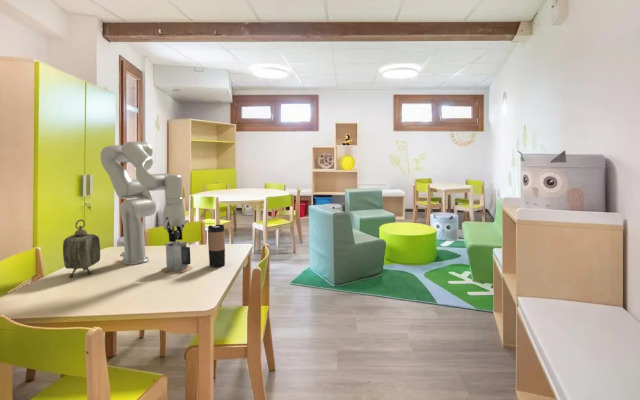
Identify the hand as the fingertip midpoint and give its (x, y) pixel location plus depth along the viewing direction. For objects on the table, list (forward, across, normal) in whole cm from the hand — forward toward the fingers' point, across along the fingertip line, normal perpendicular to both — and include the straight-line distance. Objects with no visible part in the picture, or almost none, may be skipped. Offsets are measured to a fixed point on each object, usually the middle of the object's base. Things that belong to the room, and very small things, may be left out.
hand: (175, 240), depth 192 cm
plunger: (+11, 0, 0) cm, 11 cm away
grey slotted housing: (+14, 0, +1) cm, 14 cm away
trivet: (+14, 0, 0) cm, 14 cm away
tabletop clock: (+15, +20, -35) cm, 43 cm away
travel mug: (+15, -12, +14) cm, 24 cm away
